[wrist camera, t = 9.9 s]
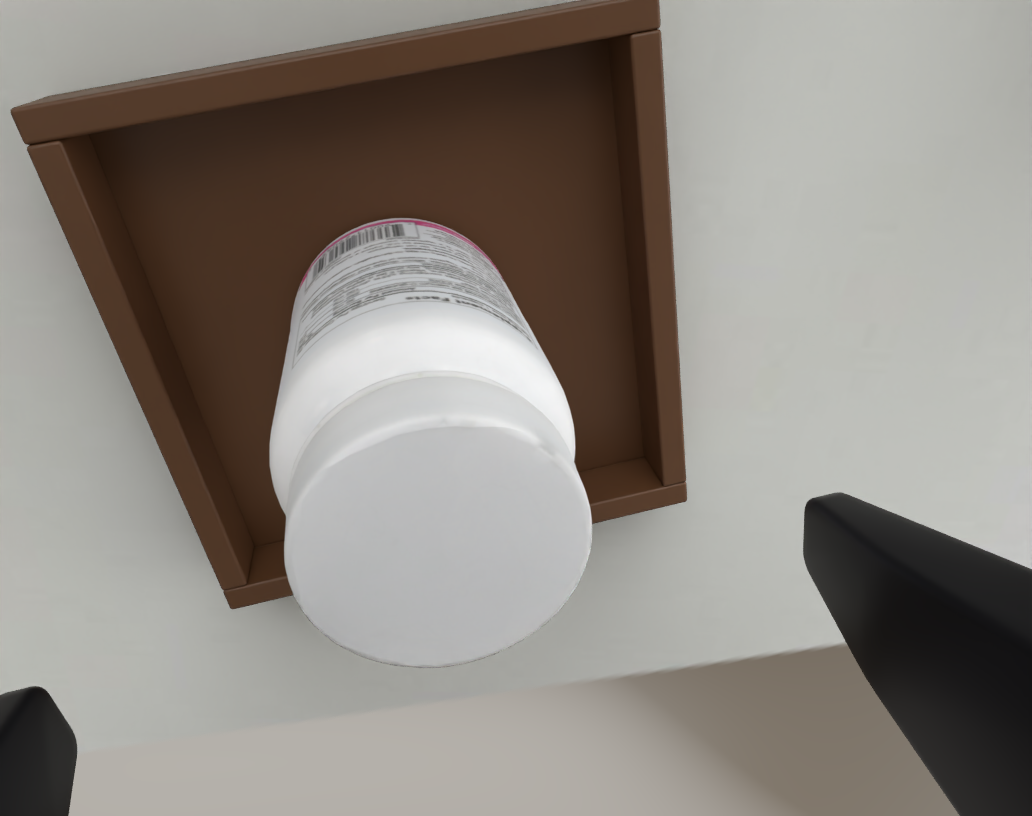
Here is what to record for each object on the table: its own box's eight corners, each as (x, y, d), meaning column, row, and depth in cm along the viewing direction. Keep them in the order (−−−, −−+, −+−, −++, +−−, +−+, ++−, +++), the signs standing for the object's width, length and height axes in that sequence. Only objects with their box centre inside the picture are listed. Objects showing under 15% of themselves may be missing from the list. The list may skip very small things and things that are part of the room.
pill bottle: (476, 432, 19) (553, 708, 12) (275, 393, 18) (216, 677, 10) (539, 245, 17) (678, 433, 10) (318, 184, 16) (287, 349, 8)
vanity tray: (662, 462, 21) (687, 502, 19) (241, 560, 20) (230, 611, 18) (627, -9, 15) (659, -9, 14) (46, 96, 15) (7, 109, 13)
